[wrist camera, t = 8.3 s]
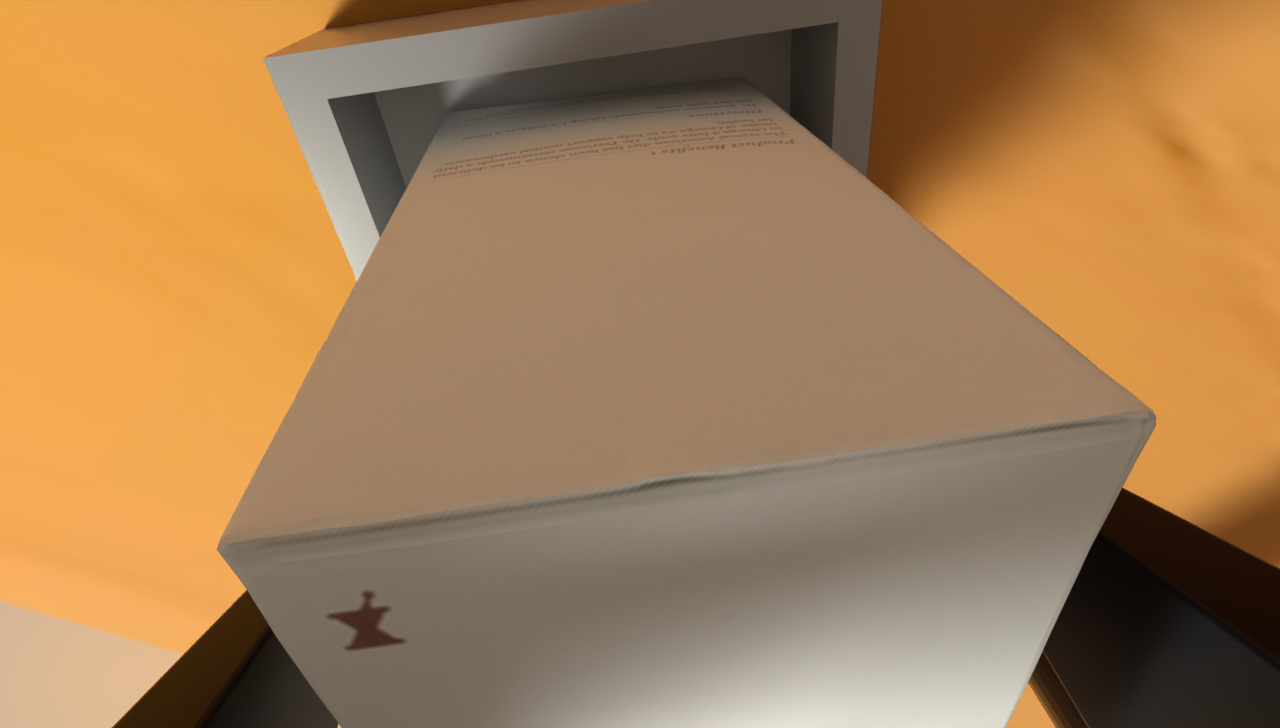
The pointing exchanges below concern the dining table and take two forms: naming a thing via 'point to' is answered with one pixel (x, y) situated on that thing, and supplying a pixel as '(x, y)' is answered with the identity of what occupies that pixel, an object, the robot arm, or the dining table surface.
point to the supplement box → (675, 443)
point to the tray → (555, 79)
